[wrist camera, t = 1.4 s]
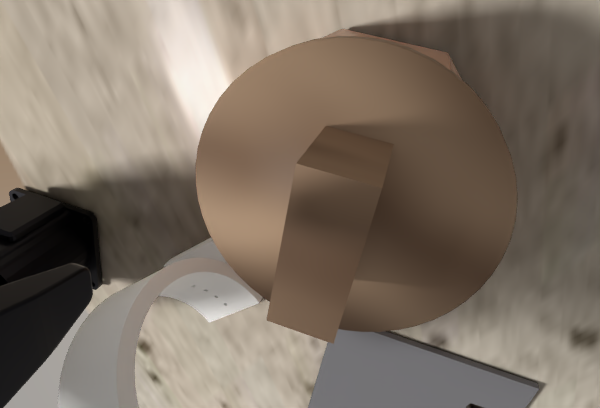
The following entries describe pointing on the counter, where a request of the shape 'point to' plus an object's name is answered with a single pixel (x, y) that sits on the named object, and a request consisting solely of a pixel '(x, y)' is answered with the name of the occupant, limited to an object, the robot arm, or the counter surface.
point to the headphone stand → (130, 316)
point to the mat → (409, 376)
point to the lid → (356, 186)
